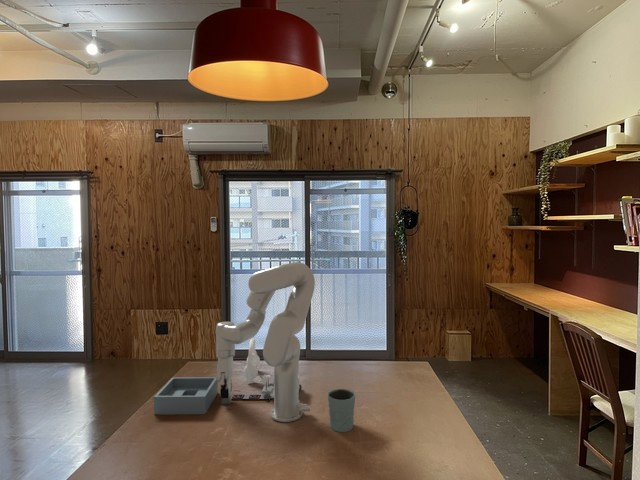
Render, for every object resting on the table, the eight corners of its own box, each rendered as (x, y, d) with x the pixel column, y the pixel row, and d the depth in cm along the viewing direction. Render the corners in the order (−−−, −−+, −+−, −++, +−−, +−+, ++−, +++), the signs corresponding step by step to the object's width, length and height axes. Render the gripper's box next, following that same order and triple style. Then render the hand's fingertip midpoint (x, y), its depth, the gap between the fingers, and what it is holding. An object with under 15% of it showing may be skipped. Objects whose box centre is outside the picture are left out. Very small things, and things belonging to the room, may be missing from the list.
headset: (257, 384, 187) (257, 346, 187) (242, 385, 187) (241, 347, 186) (260, 369, 207) (259, 334, 207) (246, 369, 207) (246, 335, 206)
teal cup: (332, 434, 142) (332, 401, 142) (324, 421, 152) (324, 390, 152) (359, 430, 145) (359, 398, 145) (349, 417, 155) (349, 387, 154)
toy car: (257, 378, 170) (262, 368, 182) (257, 401, 171) (262, 389, 182) (299, 378, 170) (301, 368, 181) (299, 401, 170) (301, 390, 181)
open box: (217, 392, 178) (217, 377, 178) (205, 414, 158) (205, 396, 158) (172, 393, 178) (172, 377, 178) (154, 414, 158) (153, 396, 158)
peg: (232, 400, 170) (231, 377, 170) (230, 404, 166) (229, 381, 166) (222, 400, 170) (222, 377, 170) (220, 404, 166) (220, 381, 166)
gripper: (221, 345, 176) (221, 386, 176) (211, 359, 159) (211, 404, 159) (238, 345, 176) (239, 386, 177) (230, 358, 159) (230, 404, 159)
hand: (226, 394), depth 168 cm, fingers open, 5 cm apart
